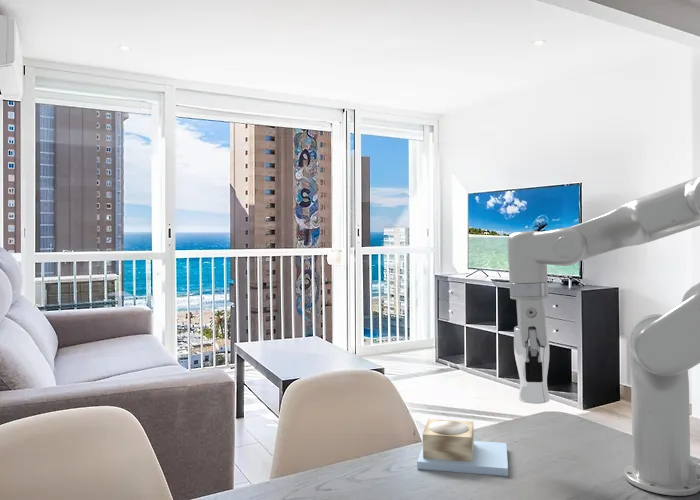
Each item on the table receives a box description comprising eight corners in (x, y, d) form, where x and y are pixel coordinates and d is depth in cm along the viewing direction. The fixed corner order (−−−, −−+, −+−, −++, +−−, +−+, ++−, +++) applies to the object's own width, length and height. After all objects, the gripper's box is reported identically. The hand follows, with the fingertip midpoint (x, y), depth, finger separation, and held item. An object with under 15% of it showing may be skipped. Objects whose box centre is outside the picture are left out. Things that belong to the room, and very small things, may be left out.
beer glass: (554, 404, 108) (550, 329, 108) (518, 404, 109) (514, 330, 109) (549, 394, 115) (545, 324, 114) (515, 394, 116) (511, 325, 116)
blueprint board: (506, 449, 120) (506, 442, 120) (508, 476, 107) (508, 468, 107) (425, 444, 125) (425, 437, 125) (417, 468, 111) (417, 461, 111)
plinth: (473, 444, 120) (473, 420, 120) (472, 461, 110) (471, 436, 110) (428, 441, 123) (428, 418, 123) (423, 458, 113) (422, 433, 113)
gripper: (552, 294, 103) (557, 388, 103) (544, 287, 119) (548, 368, 119) (511, 295, 104) (515, 388, 104) (508, 288, 121) (512, 368, 121)
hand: (533, 376), depth 112 cm, fingers closed on beer glass, 6 cm apart
